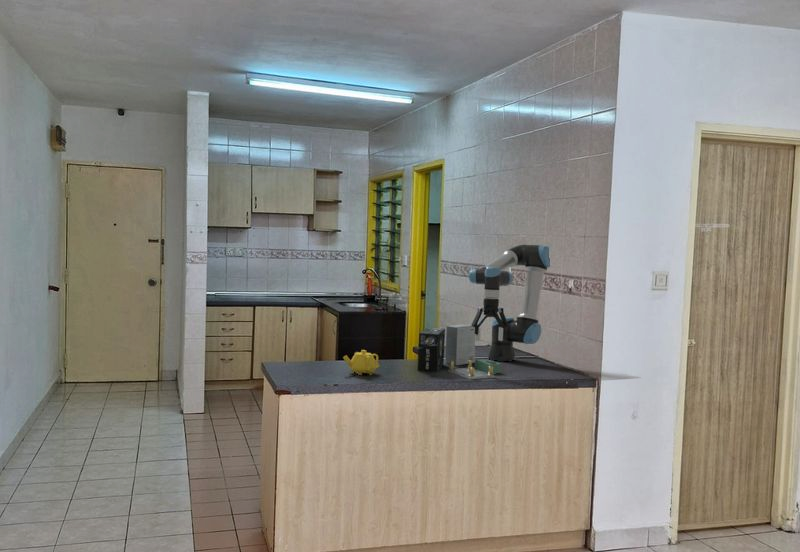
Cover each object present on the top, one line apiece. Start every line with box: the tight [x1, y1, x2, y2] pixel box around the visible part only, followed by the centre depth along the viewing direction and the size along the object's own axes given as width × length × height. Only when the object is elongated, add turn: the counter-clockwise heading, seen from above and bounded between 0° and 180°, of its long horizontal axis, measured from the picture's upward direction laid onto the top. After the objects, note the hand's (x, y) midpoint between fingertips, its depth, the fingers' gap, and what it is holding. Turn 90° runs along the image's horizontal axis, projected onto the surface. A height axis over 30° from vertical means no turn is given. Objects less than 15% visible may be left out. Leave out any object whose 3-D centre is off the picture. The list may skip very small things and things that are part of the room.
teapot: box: [342, 349, 380, 376], centre depth 341 cm, size 14×14×11 cm
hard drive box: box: [444, 323, 476, 366], centre depth 382 cm, size 16×8×20 cm, turn 134°
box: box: [417, 327, 446, 373], centre depth 364 cm, size 23×10×19 cm, turn 168°
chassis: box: [447, 360, 495, 380], centre depth 351 cm, size 13×20×5 cm, turn 27°
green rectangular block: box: [474, 358, 502, 375], centre depth 362 cm, size 7×14×6 cm, turn 22°
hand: (489, 340), depth 362 cm, fingers open, 13 cm apart
